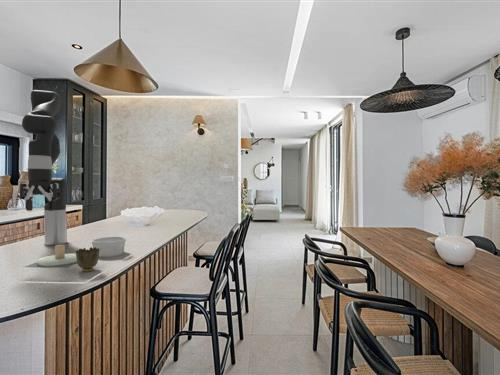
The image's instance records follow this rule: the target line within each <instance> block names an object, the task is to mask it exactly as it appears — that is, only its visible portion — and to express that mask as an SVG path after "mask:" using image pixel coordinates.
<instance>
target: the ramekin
mask: <svg viewBox="0 0 500 375" xmlns="http://www.w3.org/2000/svg"><path fill="white" fill-rule="evenodd" d="M91 245H92V248H95V247H96V248H97V249H98V248H99V249H100V250H99V258H109V257H111V258H113V257H116V256H120V255H123V254H124V252H125V245H126V237H123V236H105V237H99V238H95V239H93V240H91Z"/></svg>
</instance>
